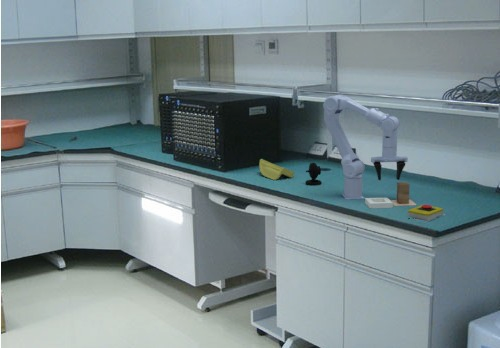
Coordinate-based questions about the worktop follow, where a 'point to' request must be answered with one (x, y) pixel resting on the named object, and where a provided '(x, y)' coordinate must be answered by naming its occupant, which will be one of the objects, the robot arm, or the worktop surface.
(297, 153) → the worktop surface
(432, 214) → the emergency button
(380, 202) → the pocket block
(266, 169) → the plastic component
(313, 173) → the webcam
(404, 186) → the peg
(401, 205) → the pad
